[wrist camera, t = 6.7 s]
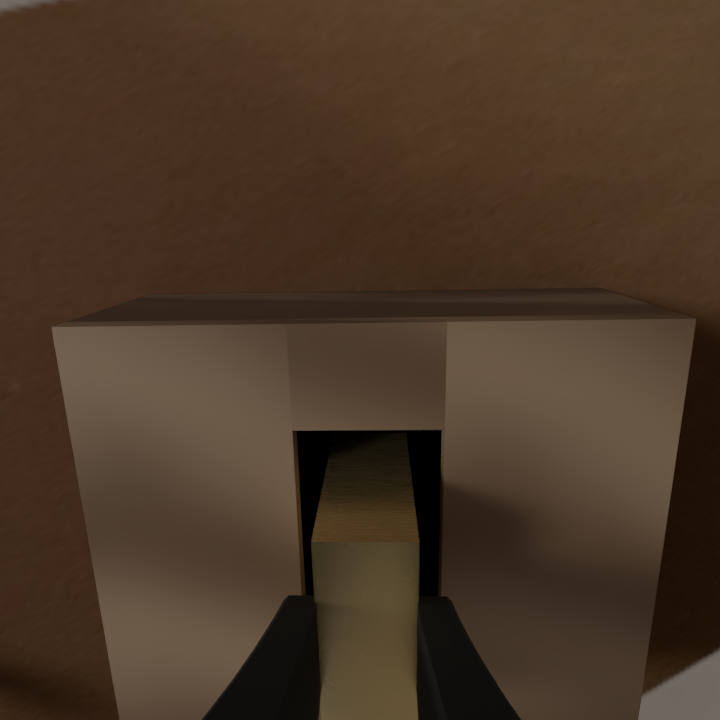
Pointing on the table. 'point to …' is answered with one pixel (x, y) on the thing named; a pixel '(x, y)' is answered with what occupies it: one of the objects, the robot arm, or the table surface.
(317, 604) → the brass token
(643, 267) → the table surface
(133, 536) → the beige block with hole
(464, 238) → the table surface
